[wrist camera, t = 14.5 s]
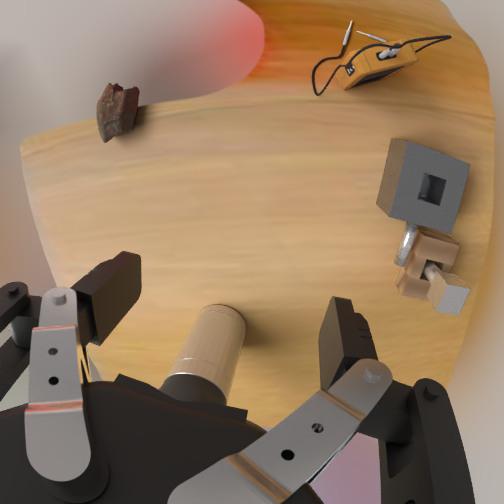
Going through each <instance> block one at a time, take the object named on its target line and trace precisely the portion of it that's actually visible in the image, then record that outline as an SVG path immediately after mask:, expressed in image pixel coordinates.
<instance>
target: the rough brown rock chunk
mask: <svg viewBox="0 0 504 504" xmlns="http://www.w3.org/2000/svg"><path fill="white" fill-rule="evenodd" d="M138 97H139V89H138V88H137V87H133V88H131V89H126V90H123V87H121V86H119V85H118V84H117V83H116V84H115V85H112V84H111V83H109V84H108V85H107V87H106V89H105V91H104V92H103V95H102V97H101V98H100V100H99V101H98V103H97V123H98V129H99V132H100V136H101V138H102V140H103V142H104V143H106V142H108V141H109V140H110V139H112V138H113V137H114V136H116V135H120V134H124V133H126V131H127V132H130V131H132V130H133V121H134V117H135V115H136V112H137V106H138Z"/></svg>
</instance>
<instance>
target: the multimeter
mask: <svg viewBox="0 0 504 504" xmlns="http://www.w3.org/2000/svg"><path fill="white" fill-rule="evenodd" d="M351 24H352V21H351V23H350V26H349V29H348V30H347V32H346V35H345V38H344V41H343V48H342V51H341V54H340V55H339V56H338V57H329V58H325V59H322V60H321V61H320V62H319V63H318V64H317V65H316V66H315V67H314V69H313V72H312V84H313V89H314V93H315V95H317V96H319V95H321V94H322V93H323V92H324V90H325V89H326V87H327V86H328V84H329V83H330V81H331V79H332V78H333V76H334V75H336V77H337V79H338V81H339V84H340V86H341V88H342V90H346V89H349V88H353V87H356V86H359V85H363V84H366V83H370V82H373V81H377V80H380V79H384V78H387V77H389V76H390V75H392V74H394V73H396V72H398V71H400V70H402V69H404V68H406V67H408V66H410V65H412V64H414V63H415V62H417V61H418V60H419V59H418V57H417V55H416V53H417V52H418V51H420V50H422V49H423V48H425V47H427V46H429V45H432V44H434V43H437V42H440V41H444V40H447V39H450V38H451V36H450V35H445V36H434V37H426V38H419V39H413V40H409V39H401V40H396V41H391V42H387V41H386V40H384V39H381V38H379V37H376V36H373V35H371V34H369V35H368V34H365V33H363V32H360V31H357V32H359V33H362V34H365V35H368V36H369V37H371V38H373V39H376V40H379V41H381V42H384V43H382V44H372V45H368V46H366V47H364V48H362V49H357V50H354V51H351V52H350V53H349V54H348V56H347V57H346V58H345V60H344V61H343V63H342V64H341V65H339V66H338V67H337V68H336V69H335V71H334V73H333V74H332V76H331V77H330V79H329V81H328V82H327V84H326V86H325V87H324V89H323V90H322V91H321V92H320V93H319V94H317V93H316V91H315V86H314V78H313V76H314V71H315V69H316V67H317V66H318V65H319V64H320V63H321V62H322V61H324V60H327V59H337V58H339V57H341V55H342V53H343V50H344V47H345V45H346V43H347V40H348V37H349V34H350V32H351V31H350V27H351ZM442 38H443V39H442ZM432 39H440V40H437V41H434V42H431V43H429V44H427V45H425V46H423V47H422V48H420V49H418V50H416V51H414V48H413V46H412V44H411V43H412V42H418V41H424V40H432ZM336 71H337V72H336Z"/></svg>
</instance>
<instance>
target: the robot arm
mask: <svg viewBox="0 0 504 504" xmlns="http://www.w3.org/2000/svg"><path fill="white" fill-rule="evenodd" d="M141 288H142V284H141V257H140V255H138V254H134V253H130V252H126V251H122V252H121V253H119V254H118V255H117V256H116V257H114V258H113V259H110V260H107V261H105V262H102V263H100V264H99V265H98V266H96V267H95V268H94V269H93V270H91V271H90V272H89V273H88V275H85V276H84V277H83V278H81V279H80V280H79V281H78V282H77V283H75V284H74V285H73V286H72V287H71V288H68V287H56V288H53V289H50V290H48V291H47V292H46V293H45V294H44V295H43V297H40V296H31V295H29V291H28V287H27V285H26V284H24V283H22V282H11V283H8V284H6V285H4V286H3V287H1V288H0V332H2V330H4V329H5V327H7V326H8V328H9V330H10V333H11V337H10V338H9V339H8V340H7V341H6V342H5V343H4V345H2V346H1V348H0V401H1V400H2V399H3V397H4V396H5V395H6V393H7V392H8V391H9V389H10V388H11V387H12V385H13V384H14V383H15V382H16V380H17V379H18V378H19V376H20V375H21V374H22V373H23V371H24V370H25V369H26V368H27V366H28V365H29V364H30V365H29V403H26V404H23V405H20V406H17V407H14V408H11V409H7V410H4V411H1V412H0V504H324V503H323V502H322V501H321V499H320V498H319V497H318V495H317V494H316V493H315V491H314V490H313V489H312V487H311V486H310V484H311V483H312V482H313V481H314V480H315V479H316V478H317V477H318V476H319V475H320V474H321V473H322V472H323V471H324V470H325V468H326V467H327V466H328V465H329V464H330V463H331V462H332V461H333V459H334V458H336V456H337V455H338V454H339V453H340V452H341V451H342V450H343V449H344V447H345V446H346V445H347V444H348V443H349V442H350V441H351V439H352V438H353V437H354V436H355V435H356V433H357V432H359V433H362V434H365V435H368V436H370V437H374V438H377V439H378V443H379V458H380V475H381V476H380V477H381V504H475V498H474V493H473V487H472V482H471V477H470V472H469V468H468V464H467V459H466V455H465V451H464V447H463V443H462V440H461V436H460V433H459V429H458V426H457V423H456V419H455V415H454V412H453V409H452V406H451V403H450V400H449V397H448V394H447V391H446V390H445V388H444V387H443V386H442V385H441V384H440V383H438V382H436V381H434V380H432V379H428V378H423V379H420V380H418V381H417V382H416V383H415V385H414V386H413V387H411V386H408V385H405V384H402V383H399V382H397V381H394V380H393V376H392V373H391V371H390V369H389V368H388V367H387V366H386V365H385V364H383V363H382V362H380V361H378V357H377V354H376V350H375V346H374V343H373V339H372V336H371V332H370V329H369V325H368V322H367V321H366V319H365V318H364V317H363V316H362V315H361V314H360V313H354V309H353V305H352V302H351V300H350V299H345V298H340V297H335V296H333V297H332V298H331V300H330V303H329V306H328V309H327V312H326V315H325V318H324V320H323V323H322V326H321V329H320V334H319V359H320V382H321V389H320V390H319V391H318V392H317V393H315V394H314V395H313V396H312V397H311V398H310V399H308V400H307V401H306V402H305V403H304V404H303V405H301V406H300V407H299V408H298V409H296V410H295V411H294V412H293V413H292V414H290V415H289V416H288V417H287V418H285V419H284V420H283V421H282V422H280V423H279V424H278V425H276V426H275V427H274V428H273V429H271V430H270V431H269V432H267V431H266V430H264V429H263V428H261V427H260V426H258V425H256V424H254V423H253V422H250V421H248V420H246V418H247V413H248V410H244V409H239V408H235V407H230V406H226V404H227V401H228V397H229V393H230V390H231V386H232V382H233V378H234V374H235V371H236V367H237V363H238V359H239V356H240V352H241V348H242V345H243V341H244V337H245V333H246V324H245V321H244V319H243V318H242V316H241V315H240V314H239V313H238V312H237V311H235V310H234V309H232V308H230V307H227V306H224V305H211V306H207V307H205V308H204V309H202V310H201V311H200V313H199V314H198V316H197V318H196V320H195V322H194V324H193V326H192V327H191V329H190V331H189V333H188V335H187V337H186V339H185V341H184V343H183V345H182V347H181V349H180V351H179V353H178V355H177V357H176V359H175V361H174V363H173V365H172V367H171V369H170V371H169V373H168V375H167V377H166V379H165V381H164V383H163V385H162V387H161V388H160V389H156V388H154V387H153V386H151V385H149V384H147V383H144V382H141V381H138V380H136V379H133V378H130V377H127V376H124V375H122V374H119V375H118V376H117V378H116V379H115V381H114V382H112V381H95V382H92V378H91V372H90V366H89V359H88V351H87V347H86V345H87V344H88V343H89V342H91V343H93V344H96V345H98V346H100V345H101V344H102V343H103V342H104V340H105V339H106V338H107V337H108V336H109V334H110V333H111V332H112V331H113V329H114V328H115V327H116V326H117V324H118V323H119V322H120V321H121V320H122V318H123V317H124V316H125V315H126V314H127V312H128V311H129V310H130V309H131V308H132V306H133V305H134V304H135V303H136V302H137V300H138V299H139V297H140V294H141Z"/></svg>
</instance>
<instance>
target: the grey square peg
mask: <svg viewBox="0 0 504 504" xmlns="http://www.w3.org/2000/svg"><path fill="white" fill-rule="evenodd" d="M422 272H423V273H424V275H425V276H426V277H427V279H428V280H429V282H430V283H431V286H430V289H429V291H428V293H427V298H428V300H429V301H430V303H431V304H432V306H433V308H434V309H435V311H436V312H441V313H448V314H455V315H459V313H460V311H461V309H462V307H463V305H464V303H465V300H466V298H467V296H468V294H469V291H470V288H469V287H468V286H467V284H466V283H465V282H464V281H463V280H462V279H461V278H460V276H459V275H455V274H451V273H446V272H442V271H441V270H440V269H439V268H438V267H437V265H436V264H435V263H434V262H433V261H432V260H429V259H427V260H426V263H425V266H424V268H423V271H422Z"/></svg>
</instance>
